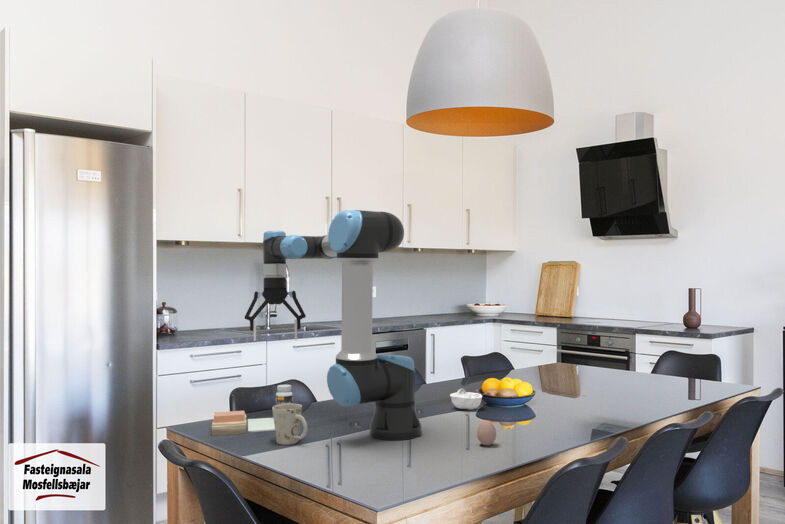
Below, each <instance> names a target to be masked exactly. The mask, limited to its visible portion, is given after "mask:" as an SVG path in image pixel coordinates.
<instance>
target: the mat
mask: <svg viewBox="0 0 785 524" xmlns="http://www.w3.org/2000/svg"><path fill="white" fill-rule="evenodd" d="M272 431H275V425H274V418H273V417H264V418H263V417H261V418H247V433H258V432H272Z"/></svg>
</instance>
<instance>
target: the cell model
mask: <svg viewBox="0 0 785 524" xmlns="http://www.w3.org/2000/svg"><path fill="white" fill-rule="evenodd" d="M449 398H450V400H451V402H452V404H453V406H455V408H457V409H460V410H469V411H471V410H475V409H477V408H479V407H480V405H481V404H482V403H481V402H482V398H483V394H481V393H479V392H471V391H470V392H469V391H466V390H465V389H464V388H460V389H458V390H457V392H452V393H450V394H449Z"/></svg>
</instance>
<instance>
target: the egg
mask: <svg viewBox="0 0 785 524" xmlns="http://www.w3.org/2000/svg"><path fill="white" fill-rule="evenodd" d="M476 430H477V431H476V436H477V439H478V442H479V443H480V444H481V445H483V446H485V447H486V446H491V445H493V443H494V442H495V441H496V438H497V431H496V427H495V426H494V424H493V422H491V421H490V420H487V419H484V420H482V421H481V422H480V423H479V425H478V427H477V429H476Z"/></svg>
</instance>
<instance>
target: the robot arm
mask: <svg viewBox="0 0 785 524" xmlns="http://www.w3.org/2000/svg"><path fill="white" fill-rule="evenodd" d="M327 233H328V234H326V235H322V236H321V235H319V236H314V235H313V236H309V235H307V236H306V235H297V234H291V235H286V232H285V231H283V230H266V231H264V233H263V238H262V239H263V240H262V249H263V250H262V251H263V252H262V255H263V268H262V269H263V276H264V278H263V292H262V291H257V290H256V291H254V293H253V299H252V301H251V303H250V305H249V307H248V309H247V311H246V313H245V316H244V319H245V320H247V321H249V330H250V331H253V341H254V342H255V341H257V320H255V319H256V318H257V317H258V316H259V314H260V313H261V312H262V311H263V310H264V308H266V306H267V304H269V305H272V306H273V305H281V304H283V305H284V306H285V307H286V308H287V310H289V312H290V313H291V314H292V315H293V317H295V318H296V319H294V340H297V341H298V330H301V320H302V319H306V314H305V311H304V310H303V307H302V305H301V304H300V302H299V300H298V298H297V294H296V291H295V290H291V291H287V278H286V277H285V276H286V275H287V260H297V259H298V260H302V259H303V260H304V259H305V260H307V259H308V260H312V259H318V260H319V259H322V260H323V259H324V260H332V259H336V260H337V261H338V262H339V263H340V264H341V333H340V334H341V338H340V339H341V340H340V341H341V345H340V346H341V347H340V348H341V350H340V351H339V352H338V353H336V355H335V364H332V365H331V366H330V367H329V368H328V370H327V375H326V383H327V388H328V392H329V393H330V396H331V397H332V398H333V400H334V402H336V403H337V404H339V405H340V406H343V407H348V406H350V407H351V406H353V407H356V406H358V405H363V404H369V403H375V405H374V406H375V408H374V411H373V415H372V419H371V421H370V424H369V435H370V436H371V437H373V438H375V439H380V440H389V441H394V440H395V441H400V440H410V439H414V438H417V437H419V436H421V435H422V424H421V421H420V418H419V416H418V412H417V409H416V390H415V389H416V381H415V380H416V376H415V375H416V370H415V361H414V359H413V358H412V357H411V356H408V355H400V354H392V353H391V354H390V353H375V352H374V351H373V291H374V289H373V288H374V287H373V284H374V283H373V281H374V278H373V277H374V268H373V267H374V264H375V263H376V262H377V261H378V260H379V253H388V252H391V251H393V250H396V249H397V248H398V247H399V246H400V245H401V244H402V242H403V240H404V238H405V237H404V236H405V228H404V225H403V222H402V221H401V219H399V217H397V216H396V215H394V214H393V213H391V212H387V211H374V210H373V211H372V210H360V209H348V210H342V211H340V212H338V213H337V214H336V215H335V216H334V217H333V219H332V220H331V223H330V225H329V227H328V232H327ZM288 296H289V297H290V298H292V300H293V302H294V304H295V305H296V308H297V310H298V311H299V314H298V312H297V311H296V310H294V308H293V307H292V306H291V305H290V304H289V303H288V302H287V300H286V298H287V297H288ZM261 297H263V299H264V301H263V302H262V304H260V306H259V307H258V308H257V309H256V311H255V312H253V309H254V306H255V305H256V303H257V300H258V299H260V298H261ZM252 312H253V314H252ZM251 314H252V315H251ZM250 315H251V316H250Z"/></svg>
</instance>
